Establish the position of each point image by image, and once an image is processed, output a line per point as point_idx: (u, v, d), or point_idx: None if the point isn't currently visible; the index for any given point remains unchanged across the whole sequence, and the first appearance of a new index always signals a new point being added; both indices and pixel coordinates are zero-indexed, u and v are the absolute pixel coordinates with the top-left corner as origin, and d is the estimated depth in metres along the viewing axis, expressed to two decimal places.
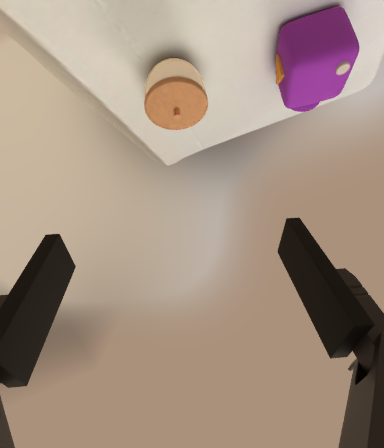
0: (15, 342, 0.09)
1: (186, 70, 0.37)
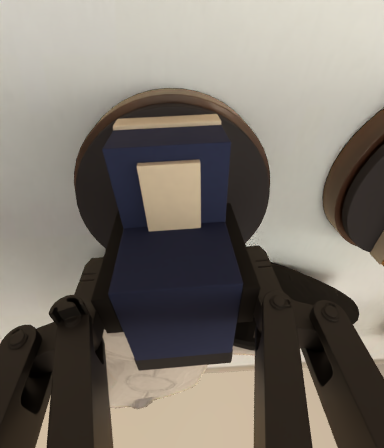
0: None
1: None
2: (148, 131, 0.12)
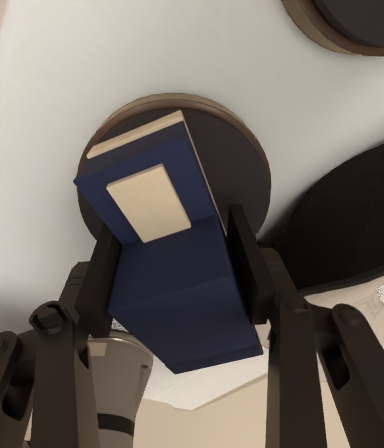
0: (102, 298, 0.11)
1: None
2: (115, 150, 0.12)
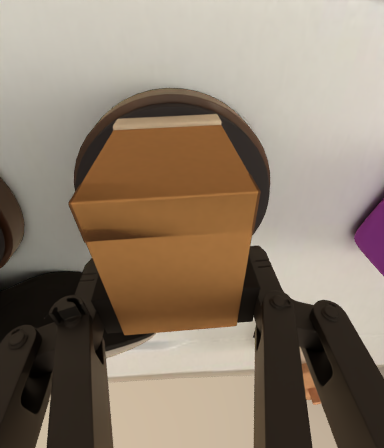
0: None
1: None
2: None
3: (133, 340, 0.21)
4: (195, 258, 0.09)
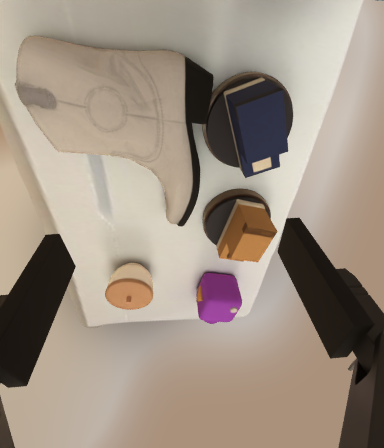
0: (15, 342, 0.09)
1: (146, 277, 0.55)
2: None
3: (185, 221, 0.44)
4: (260, 241, 0.42)
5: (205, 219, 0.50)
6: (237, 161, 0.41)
